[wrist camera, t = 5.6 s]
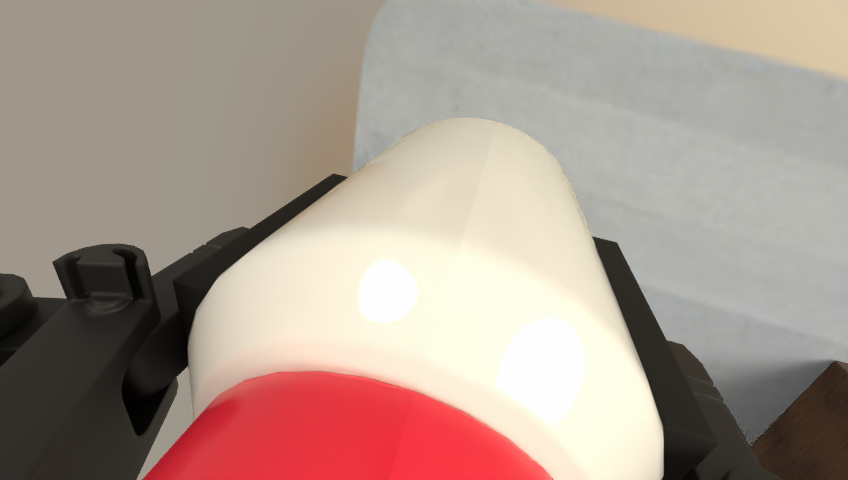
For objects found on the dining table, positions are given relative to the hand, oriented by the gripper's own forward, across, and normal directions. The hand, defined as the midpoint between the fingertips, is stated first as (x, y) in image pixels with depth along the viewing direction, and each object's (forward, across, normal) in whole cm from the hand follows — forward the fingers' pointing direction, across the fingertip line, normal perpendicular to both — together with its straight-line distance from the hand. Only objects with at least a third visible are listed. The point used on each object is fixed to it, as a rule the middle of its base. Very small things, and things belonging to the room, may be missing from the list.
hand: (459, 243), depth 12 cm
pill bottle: (+1, 0, 0) cm, 1 cm away
